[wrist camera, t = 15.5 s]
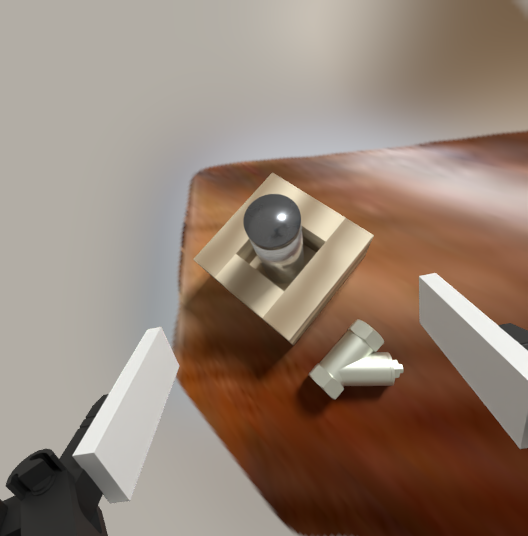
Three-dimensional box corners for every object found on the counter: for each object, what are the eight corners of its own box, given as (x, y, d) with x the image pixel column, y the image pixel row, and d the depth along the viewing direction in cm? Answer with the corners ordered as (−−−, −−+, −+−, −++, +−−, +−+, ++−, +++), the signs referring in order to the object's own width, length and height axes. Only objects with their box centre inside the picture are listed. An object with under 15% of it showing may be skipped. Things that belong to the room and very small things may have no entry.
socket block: (364, 256, 36) (373, 235, 31) (293, 345, 34) (289, 340, 29) (278, 199, 41) (272, 172, 35) (210, 275, 39) (193, 259, 33)
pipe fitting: (402, 363, 32) (353, 321, 34) (416, 365, 29) (361, 317, 31) (355, 420, 31) (307, 373, 33) (363, 429, 28) (309, 376, 29)
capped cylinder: (312, 260, 36) (313, 214, 25) (286, 291, 36) (274, 257, 24) (281, 237, 38) (269, 184, 27) (256, 266, 37) (231, 224, 26)
